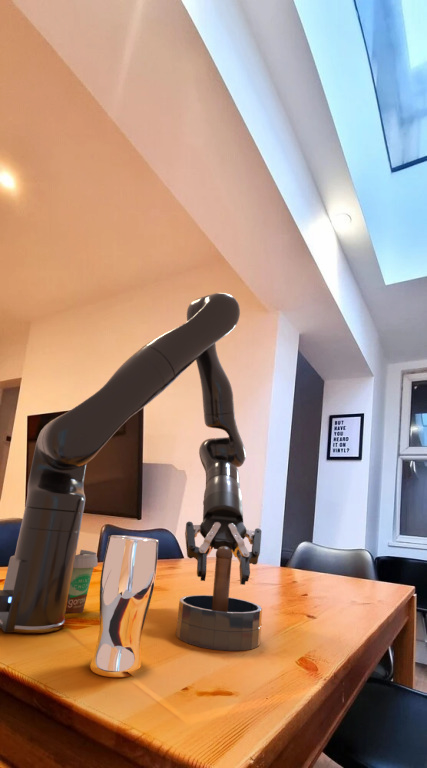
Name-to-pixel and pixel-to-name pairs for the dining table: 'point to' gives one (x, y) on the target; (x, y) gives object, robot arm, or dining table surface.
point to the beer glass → (124, 603)
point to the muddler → (222, 579)
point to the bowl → (219, 624)
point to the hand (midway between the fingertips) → (223, 579)
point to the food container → (80, 581)
